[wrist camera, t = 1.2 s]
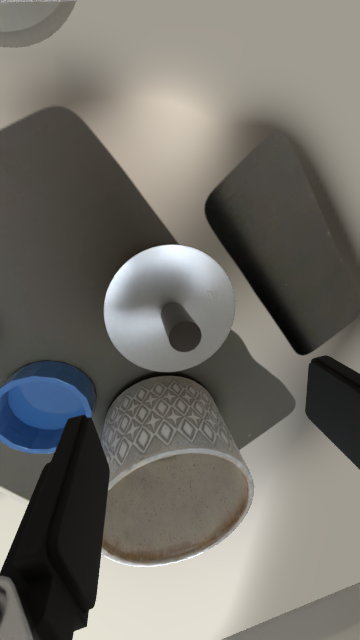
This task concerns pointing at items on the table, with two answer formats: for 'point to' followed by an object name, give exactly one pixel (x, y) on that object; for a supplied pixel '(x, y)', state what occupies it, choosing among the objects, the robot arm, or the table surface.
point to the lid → (169, 308)
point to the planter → (170, 474)
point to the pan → (42, 404)
